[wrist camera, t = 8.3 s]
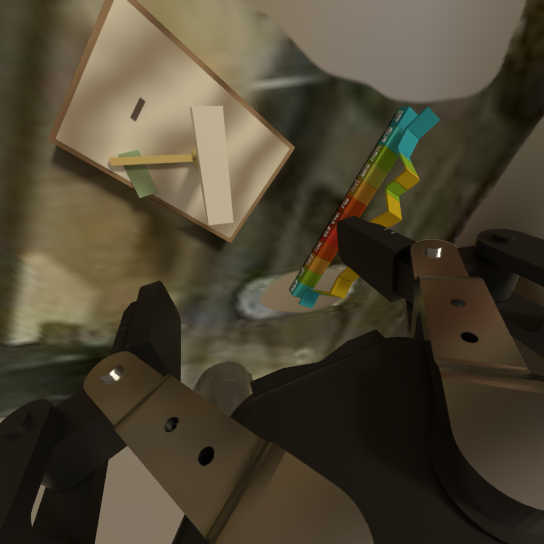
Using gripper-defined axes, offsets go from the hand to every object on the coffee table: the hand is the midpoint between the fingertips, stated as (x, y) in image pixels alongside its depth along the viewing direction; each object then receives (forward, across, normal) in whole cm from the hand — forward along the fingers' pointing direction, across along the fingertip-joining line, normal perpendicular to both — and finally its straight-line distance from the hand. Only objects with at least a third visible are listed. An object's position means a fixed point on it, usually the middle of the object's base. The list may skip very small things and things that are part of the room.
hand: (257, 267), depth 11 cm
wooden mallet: (+21, +4, -3) cm, 22 cm away
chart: (+24, -18, +10) cm, 32 cm away
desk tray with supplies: (+24, +1, -4) cm, 24 cm away
